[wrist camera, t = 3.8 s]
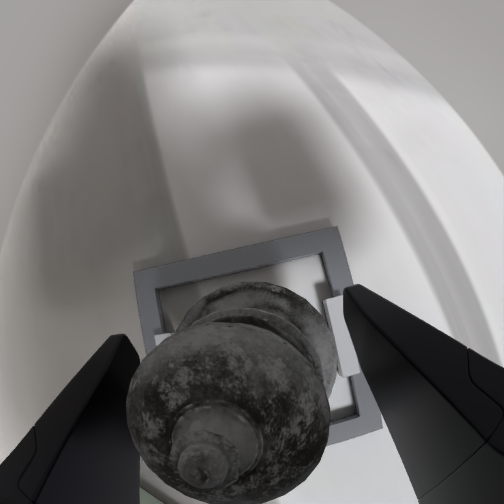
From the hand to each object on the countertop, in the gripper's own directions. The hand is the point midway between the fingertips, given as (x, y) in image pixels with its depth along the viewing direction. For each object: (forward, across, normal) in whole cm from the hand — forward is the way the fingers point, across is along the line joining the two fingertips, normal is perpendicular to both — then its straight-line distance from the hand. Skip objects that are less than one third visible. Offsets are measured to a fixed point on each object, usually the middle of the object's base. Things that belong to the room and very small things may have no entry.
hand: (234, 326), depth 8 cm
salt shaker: (+4, 0, +6) cm, 7 cm away
